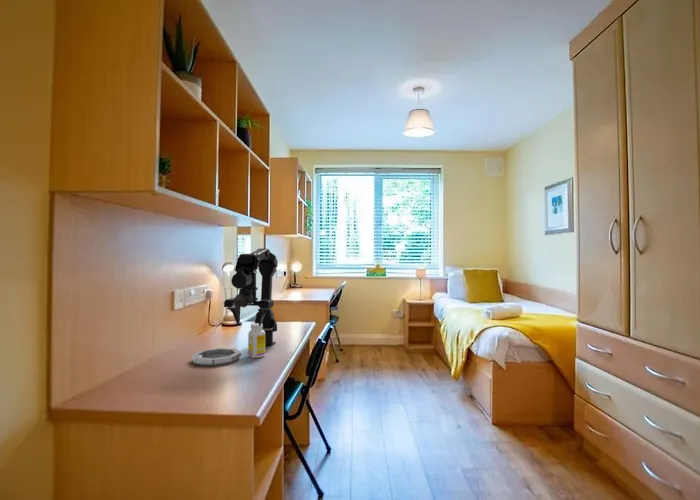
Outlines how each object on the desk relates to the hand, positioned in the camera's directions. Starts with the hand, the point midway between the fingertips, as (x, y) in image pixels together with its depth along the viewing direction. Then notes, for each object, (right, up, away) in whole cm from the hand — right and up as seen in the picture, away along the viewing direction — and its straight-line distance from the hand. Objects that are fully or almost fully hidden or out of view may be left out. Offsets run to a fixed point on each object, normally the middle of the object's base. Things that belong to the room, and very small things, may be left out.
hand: (249, 325), depth 150 cm
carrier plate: (-12, -13, -3) cm, 18 cm away
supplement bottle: (+2, -13, +3) cm, 14 cm away
